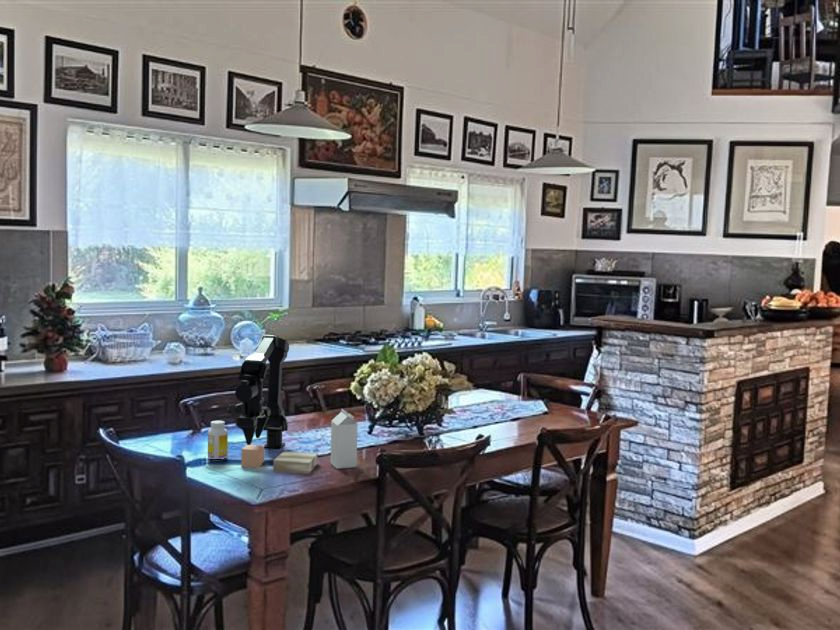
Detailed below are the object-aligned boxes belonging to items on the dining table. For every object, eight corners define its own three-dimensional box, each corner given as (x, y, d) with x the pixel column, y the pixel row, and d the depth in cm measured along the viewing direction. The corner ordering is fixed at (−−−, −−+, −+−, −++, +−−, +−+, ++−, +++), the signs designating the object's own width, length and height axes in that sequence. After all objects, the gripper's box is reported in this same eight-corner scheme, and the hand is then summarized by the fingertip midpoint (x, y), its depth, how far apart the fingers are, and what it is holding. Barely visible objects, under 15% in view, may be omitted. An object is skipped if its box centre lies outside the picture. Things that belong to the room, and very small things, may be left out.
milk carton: (336, 469, 273) (337, 413, 271) (330, 463, 280) (331, 409, 278) (356, 467, 276) (358, 412, 274) (350, 461, 282) (351, 408, 281)
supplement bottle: (229, 455, 285) (229, 419, 283) (225, 461, 278) (225, 424, 277) (209, 455, 284) (210, 419, 283) (205, 460, 278) (205, 423, 277)
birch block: (283, 462, 280) (283, 451, 280) (317, 464, 279) (317, 453, 279) (273, 472, 269) (273, 460, 268) (308, 475, 267) (308, 463, 267)
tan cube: (247, 461, 279) (247, 444, 278) (264, 462, 278) (264, 445, 278) (241, 466, 273) (241, 448, 272) (258, 467, 272) (258, 450, 272)
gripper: (240, 389, 283) (239, 433, 285) (220, 400, 265) (220, 446, 267) (271, 391, 282) (270, 435, 284) (253, 402, 264) (253, 449, 265)
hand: (253, 441), depth 275 cm, fingers open, 9 cm apart
